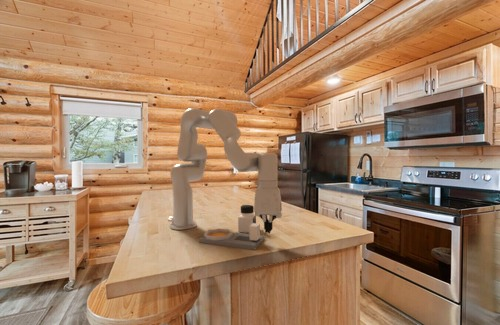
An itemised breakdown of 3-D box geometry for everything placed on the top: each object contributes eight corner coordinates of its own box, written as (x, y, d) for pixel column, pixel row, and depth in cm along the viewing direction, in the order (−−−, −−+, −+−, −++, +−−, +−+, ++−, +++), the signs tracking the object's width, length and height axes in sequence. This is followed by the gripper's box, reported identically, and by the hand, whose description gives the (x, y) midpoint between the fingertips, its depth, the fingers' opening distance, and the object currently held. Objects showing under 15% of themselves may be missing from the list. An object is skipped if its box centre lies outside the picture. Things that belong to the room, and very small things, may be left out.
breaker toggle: (249, 239, 93) (249, 225, 93) (253, 236, 97) (252, 223, 97) (256, 240, 92) (256, 226, 92) (260, 237, 96) (259, 223, 96)
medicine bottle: (253, 233, 107) (253, 207, 107) (238, 232, 109) (237, 206, 109) (256, 228, 114) (255, 203, 114) (241, 227, 116) (241, 203, 116)
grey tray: (199, 242, 96) (199, 235, 96) (213, 233, 108) (213, 227, 108) (254, 249, 88) (254, 242, 88) (264, 239, 99) (264, 232, 99)
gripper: (246, 185, 91) (247, 232, 91) (284, 186, 86) (285, 236, 86) (253, 183, 98) (253, 227, 98) (288, 184, 93) (289, 230, 93)
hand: (268, 231), depth 92 cm, fingers closed
